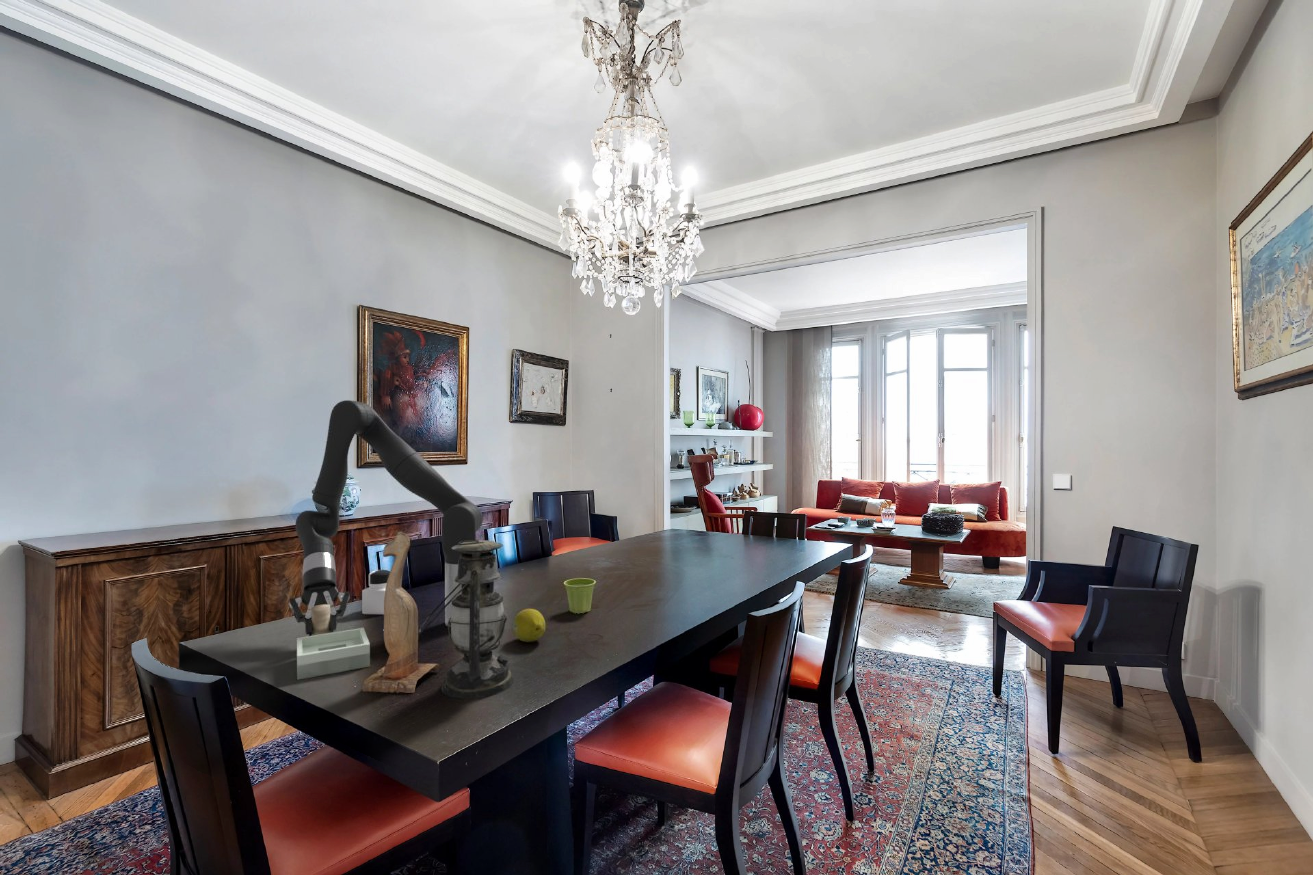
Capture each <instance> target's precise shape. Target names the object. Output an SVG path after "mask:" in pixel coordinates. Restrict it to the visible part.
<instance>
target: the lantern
mask: <svg viewBox="0 0 1313 875" xmlns="http://www.w3.org/2000/svg"><path fill="white" fill-rule="evenodd" d="M462 542H463V543H462ZM460 543H461V544H460ZM503 546H504V545H503V543H500V542H497V541H493V540H487V539H486V540H484V539H483V540H480V539H476V540H468V541H460V542H459V543H458V545H456V546H453V547H452V549H453V550H455V551H458V552H461V556H460V558H459V560H458V574H457V576H456V577H455V580H454V581H455V582H457V583H459V584H458V585H457V586H456V587H455V588H454V589H453V591H452V592H451V593H450V594H449V595H448V596H447V597H446V598H445V597H444V599H443V600H442V601H441V602H440V603H439V604H438V605H437V606H436V607H435V608H434V609H433V610H432V612H431V613H430V614H429V615H428V616H427V618H426V619H425V621H424V622H423V623H422V625H421V626H420V627H418V636H419V635H420V634H422V633H423V632H424V631H425V630H426V629H427V628H428V627H429V625H431V623H432V622H434V621H435V619H436V618H437V617H438V616H439V615H441V613H442V612H443V611H445V608H446V606H447V605H448V604H449V603H450V602H451V601H452V600H453V599H454V598H455V597H456V596H457V595H458V594H459V593H460V592H461V591H462V594H460V595H458V596H457V597H456V599H454V600H453V601H452V605H453V609H452V613H451V618H450V619H451V621H450V619H449V621H448V626H447V631H448V636H449V640H450V642H451V643H452V645H453V646H454V650H455V651H456V652H458V653H460V654H463V658H460V660H457V662H454V664H452V665H451V666H449V667H448V668H447V670H446V677H445V678H444V681H443V683H442V685H441V688H440V689H441V692H442V693H443V694H445V696H447V697H451V698H454V699H462V700H463V699H464V700H470V699H480V698H482V699H483V698H487V697H491V696H495V695H497V694H499V693H502V692H505V691H506V690H507V689H509V688H510V687H512V685H513V684H514V681H515V679H514V676H513V673H512V672H511V670H510V669H509V666H510V665H509V664H510V663H508V662H509V658H508V657H506V656H505V655H502V654H500V655H498V656H496V655H494V654H493V651H494V650H496V649H498V648H499V647H501V640H502V638H503V636H504V633H505V627H506V622H507V620H508V618H507V617H506V614H505V609H504V605H503V604H504V603H503V601H504V597H503V596H502V595H500V593H498V592H496V591H494V590H495V589H494V588H495V586H494V585H495V582H496V581H498V580H500V579H501V578H502V577H501V574H500V573H499V571H498V562H497V560H498V559H497V556H496V554H495V552H494V551H495V550H498V549H501V548H502V547H503ZM463 553H465V554H463ZM461 583H462V584H461ZM460 584H461V588H462V589H461V590H460V591H459V592H458V593H457V594H456V595H455V596H454V597H453V598H452V599H451V600H450V601H449V602H448V603H447V604H446V605H445V604H444V606H443V607H442V608H441V609H440V610H439V611H438V613H436V614H435V615H434V617H432V619H431V620H430V621H429V622H428V623H427V621H428V620H429V619H430V617H431V616H432V615H433V614H434V613H435V612H436V611H437V610H438V609H439V607H441V605H442V604H443V603H445V600H446V599H447V598H448V597H449V596H450V595H451V594H452V593H453V592H454V591H455V590H456V589H457V588H458V587H459V586H460ZM426 623H427V624H426ZM425 624H426V625H425ZM449 624H450V626H451V627H449ZM450 632H451V633H450Z"/></svg>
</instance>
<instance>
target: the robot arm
mask: <svg viewBox="0 0 1313 875" xmlns="http://www.w3.org/2000/svg"><path fill="white" fill-rule="evenodd" d="M328 422H329V423H328V429H327V436H326V443H325V449H324V454H323V460H322V463H321V464H322V465H321V466H320V467H321V468H320V472H319V475H318V477H317V481H316V484H315V486H314V489H313V492H312V498H311V499H312V501H313V502H314V503H315V504H318V505H320V506H324V507H326V508H327V512H322V511H317V510H316V511H314V510H304V511H302V512H301V513H299V515H298V516H297V517H296V520H295V525H294V526H295V531H296V534H297V537H298V540H299V541H300V543H301V546H302V549H303V564H302V593H301V595H300V597H296V598H294V597H291V598H290V599H289V602H288V604H289V608H290V610H291V612H292V615H293V617H294V618H295V620H296V621H295V622H297V623H298V624H300V623H304V625H305V626H304V629H305V633H304V634H306V635H307V636H312V612H311V608H312V607H313V606H317V605H323V604H327V605H330V633H332V632H335V631H336V630H337V625H338V624H337V619H338V618H339V617H341V618H342V617H344V615H345V612H346V609H347V607H348V603H349V600H350V596H351V592H350V591H348V590H347V591H345V592H340V591H339V589H338V587H337V570H336V562H335V556H334V554H335V553H334V544H333V543H334V542H333V541H332V538H333V537H335V536H336V534H337V533H338V531H339V530H340V529H339V528H340V506H341V499H342V496H343V494H344V490H345V488H346V484H347V480H348V474H349V473H348V469H349V466H348V462H349V461H348V457H349V450H350V446H351V443H352V442H353V438H354V437H355V435H356V436H358V437H359V438H360V439H362V440H363V441H364V442H366V444H368V445H369V446H370V447H371V448H372V449H373V450H374V451H375V453H376V454H377V456H378V457H379V459H380V461H381V463H382V465H383V467H384V468H385V470H386V472H388V473H389V475H390V476H391V477H392V478H393V479H395V481H397V483H399V484H400V485H401V487H403V488H404V489H406V490H407V491H409V492H411V493H412V494H414V495H416V496H417V497H419V498H421V499H422V500H425V501H426V502H428V503H430V504H431V505H432V506H434V507H435V508H436V509H437V510H438V511H439V512H440V513H441V514H442V519H441V545H442V546H441V547H442V548H441V549H442V553H443V556H444V599H445V598H446V597H447V596H448V595H449V594H450V593H451V592H452V591H453V589H454V588H455V587H456V586H457V585H458V584H459V583H457V582H455V581H454V580H455V577H456V576H457V574H458V560H459V558H460V556H461V552H458V551H455V550H453V549H452V547H453V546H456V545H458V543H459V542H460V541H468V540H477V539H476V538H477V537H476V536H477V535H476V534H477V533H476V532H477V531H479V529H481V527H482V525H483V513H482V512H481V509H480V508H479V507H478V506H477V505H476V504H474V503H473V502H472V501H471V500H469V499H468V498H467V497H466V496H464V495H463V494H461V493H460V492H459V491H457V490H456V489H455V488H454V487H453V486H452V485H450V483H449V482H448V481H446V480H445V478H444V477H443V476H442V475H441V474H440V473H439V472H438V471H437V470H436V469H435V468H433V466H432V465H431V464H430V463H429V462H427V460H426V459H425V458H423V457H422V456H421V455H420V454H419V453H418V452H417V451H416V450H415V449H414V448H412V447H411V446H410V445H409V444H408V443H407V442H405V440H404V439H402V438H401V437H400V436H398V435H397V434H396V433H395V432H394V431H393V430H392V429H391V428H390V427H389V425H388V424H386V422H385V421H384V420H383V419H382V418H381V417H380V414H378V412H376V410H374V408H372V406H370V405H369V404H367V403H366V402H362V401H357V400H349V399H347V400H341V401H339V402H337V403H336V404H335V405H334V406H333V407H332V410H331V413H330V418H329V421H328ZM462 543H463V542H462ZM460 544H461V543H460ZM463 554H465V553H463ZM461 584H462V583H461ZM461 584H460V586H459V587H458V588H457V589H456V590H455V591H454V592H453V593H452V594H451V595H450V596H449V597H448V598H447V599H446V600H445V601H444V606H445V605H446V604H447V603H448V602H449V601H450V600H451V599H452V598H453V597H454V596H455V595H456V594H457V593H458V592H459V591H460V590H461V589H462V588H461ZM460 594H462V591H461V592H460V593H459V594H458V595H460ZM458 595H457V596H458ZM457 596H456V597H457ZM456 597H455V598H454V599H456ZM338 598H339V601H340V605H339V608H338V609H337V610H336V608H335V605H334V603H336V600H338ZM454 599H453V600H454ZM453 600H452V601H453ZM452 601H451V602H450V603H449V604H448V605H447V606H446V608H445V609H444V611H445V612H444V619H445V620H444V621H445V622H444V623H445V626H446V627H448V621H449V619H450V618H451V613H452V609H453V605H452ZM301 603H303V604H304V605H305V606H306V607H307V609H306V610H307V611H306V613H305V614H303V612H302V610H301V608H300V607H301ZM450 621H451V619H450ZM449 628H451V626H450V624H449Z"/></svg>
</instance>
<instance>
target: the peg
mask: <svg viewBox="0 0 1313 875" xmlns="http://www.w3.org/2000/svg"><path fill="white" fill-rule="evenodd" d="M311 612H312V636H313V635H319V634H326V633H330V605H327V604H323V605H317V606H313V607H312V608H311Z"/></svg>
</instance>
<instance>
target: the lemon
mask: <svg viewBox="0 0 1313 875" xmlns="http://www.w3.org/2000/svg"><path fill="white" fill-rule="evenodd" d="M512 628H513V629H512V630H513V632H514V633H513V634H515V636H516V638H517V639H518V640H520V641H521V642H525V643H533V642H536V641H537V640H540V638H542V636H543V635H544V634H545V632H546V621H545V618H544V615H543V614H542V613H541V612H540V611H539V610H537V609H535V608H524V609H522V610H521V611H519V612H518V613H517V614H516V616H515V618H514V620H513V624H512Z"/></svg>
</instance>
